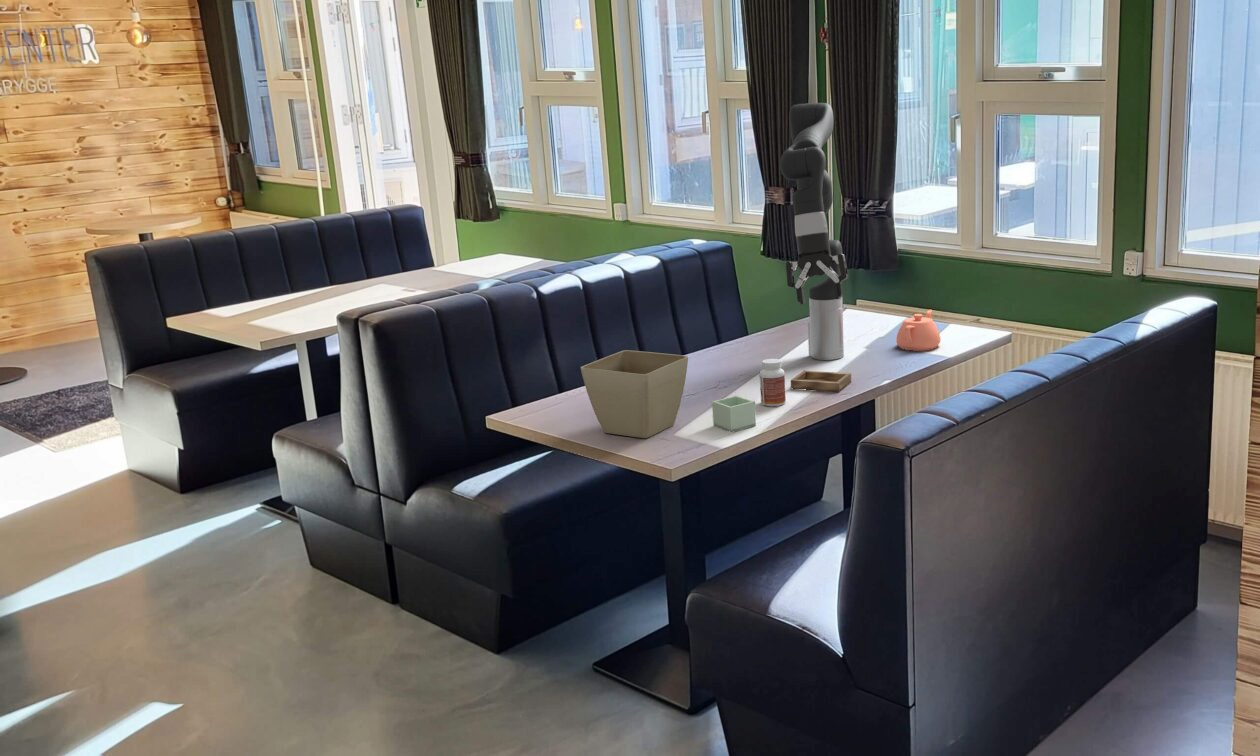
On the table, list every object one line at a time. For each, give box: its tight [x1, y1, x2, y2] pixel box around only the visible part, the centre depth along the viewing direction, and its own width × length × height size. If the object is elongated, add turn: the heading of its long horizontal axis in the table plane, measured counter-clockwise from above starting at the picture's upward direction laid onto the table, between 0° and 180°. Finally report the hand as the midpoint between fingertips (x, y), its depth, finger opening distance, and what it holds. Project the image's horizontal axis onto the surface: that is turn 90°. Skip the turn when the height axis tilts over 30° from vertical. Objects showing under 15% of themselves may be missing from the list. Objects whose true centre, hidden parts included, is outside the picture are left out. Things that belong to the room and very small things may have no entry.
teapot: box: [895, 309, 941, 352], centre depth 352 cm, size 12×18×10 cm
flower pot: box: [580, 349, 689, 439], centre depth 292 cm, size 19×19×17 cm
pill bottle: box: [759, 358, 787, 407], centre depth 306 cm, size 6×6×11 cm
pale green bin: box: [711, 395, 757, 433], centre depth 291 cm, size 7×7×6 cm
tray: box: [790, 369, 852, 393], centre depth 320 cm, size 13×10×2 cm
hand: (820, 301), depth 290 cm, fingers open, 8 cm apart
